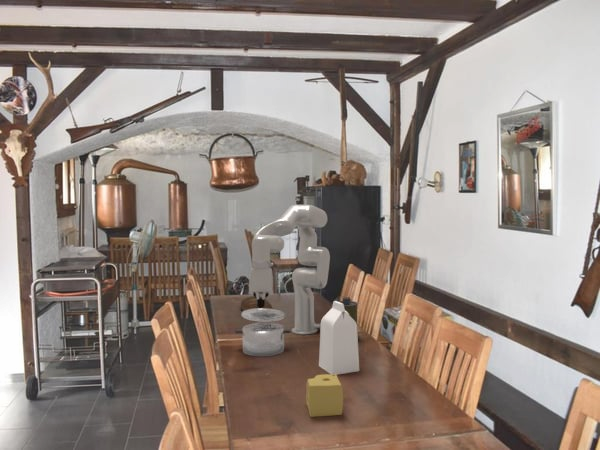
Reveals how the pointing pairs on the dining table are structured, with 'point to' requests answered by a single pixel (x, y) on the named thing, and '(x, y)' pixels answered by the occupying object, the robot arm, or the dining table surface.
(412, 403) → the dining table surface
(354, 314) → the canister
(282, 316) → the lid
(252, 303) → the bread
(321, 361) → the milk
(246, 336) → the pot
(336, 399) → the cheese
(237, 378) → the dining table surface
